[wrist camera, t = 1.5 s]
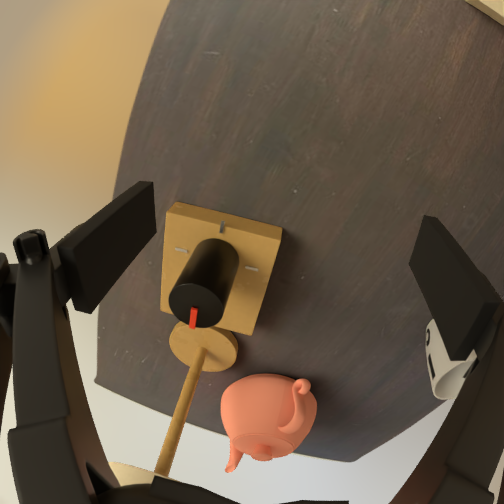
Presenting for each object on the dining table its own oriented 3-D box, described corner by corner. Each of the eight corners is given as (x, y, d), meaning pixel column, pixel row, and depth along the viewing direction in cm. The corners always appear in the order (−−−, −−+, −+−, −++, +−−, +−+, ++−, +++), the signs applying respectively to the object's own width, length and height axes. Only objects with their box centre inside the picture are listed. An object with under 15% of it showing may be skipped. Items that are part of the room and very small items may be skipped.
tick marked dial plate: (176, 196, 34) (166, 207, 31) (284, 222, 34) (282, 236, 31) (168, 296, 42) (159, 311, 39) (254, 320, 42) (251, 336, 39)
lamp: (167, 301, 42) (60, 532, 14) (253, 325, 42) (197, 581, 14) (165, 355, 48) (91, 541, 20) (237, 375, 48) (190, 574, 20)
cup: (409, 321, 38) (427, 378, 30) (461, 294, 35) (488, 348, 27) (423, 353, 41) (438, 406, 33) (469, 330, 38) (491, 381, 29)
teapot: (270, 431, 57) (262, 484, 46) (200, 403, 55) (184, 459, 44) (345, 382, 46) (348, 450, 36) (263, 343, 44) (250, 418, 33)
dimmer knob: (196, 232, 32) (168, 279, 25) (243, 244, 32) (227, 295, 25) (191, 271, 35) (165, 321, 28) (234, 283, 35) (218, 336, 28)
